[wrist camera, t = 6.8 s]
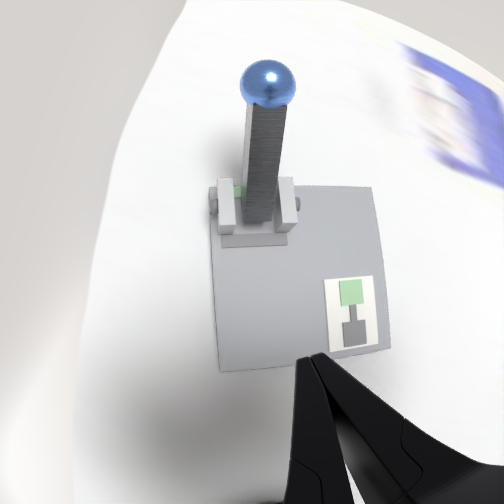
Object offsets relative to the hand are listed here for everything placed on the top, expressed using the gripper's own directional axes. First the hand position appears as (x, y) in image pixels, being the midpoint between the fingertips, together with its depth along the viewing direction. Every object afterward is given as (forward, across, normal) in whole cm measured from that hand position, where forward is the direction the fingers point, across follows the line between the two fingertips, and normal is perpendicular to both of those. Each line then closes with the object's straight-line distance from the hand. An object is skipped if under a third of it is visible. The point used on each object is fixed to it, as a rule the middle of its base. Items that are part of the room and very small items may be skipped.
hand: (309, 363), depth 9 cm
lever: (+14, -1, +1) cm, 14 cm away
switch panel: (+13, -3, +6) cm, 15 cm away
